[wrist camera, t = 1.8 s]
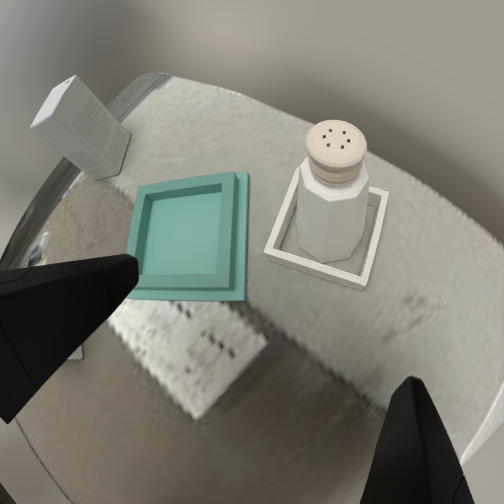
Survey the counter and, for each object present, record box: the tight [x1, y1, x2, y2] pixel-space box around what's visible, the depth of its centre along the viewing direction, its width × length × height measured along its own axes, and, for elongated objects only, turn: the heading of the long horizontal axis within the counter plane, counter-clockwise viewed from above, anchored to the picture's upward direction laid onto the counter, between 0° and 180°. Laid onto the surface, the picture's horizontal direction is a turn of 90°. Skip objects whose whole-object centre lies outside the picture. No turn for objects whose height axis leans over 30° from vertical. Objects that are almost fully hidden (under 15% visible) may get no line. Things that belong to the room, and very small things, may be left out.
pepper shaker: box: [296, 120, 369, 263], centre depth 16 cm, size 5×5×11 cm
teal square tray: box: [126, 172, 249, 301], centre depth 23 cm, size 11×11×2 cm
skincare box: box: [30, 75, 131, 180], centre depth 24 cm, size 6×4×12 cm
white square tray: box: [264, 167, 389, 291], centre depth 20 cm, size 8×8×2 cm
